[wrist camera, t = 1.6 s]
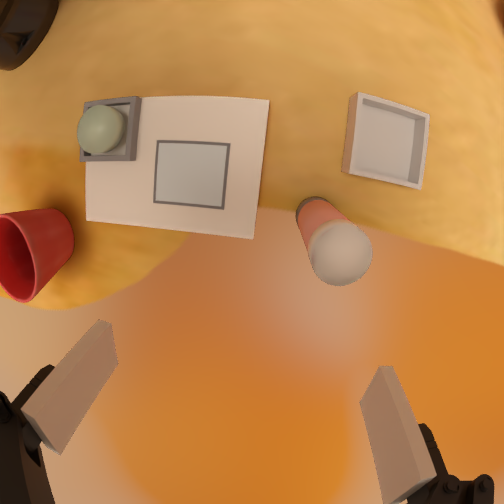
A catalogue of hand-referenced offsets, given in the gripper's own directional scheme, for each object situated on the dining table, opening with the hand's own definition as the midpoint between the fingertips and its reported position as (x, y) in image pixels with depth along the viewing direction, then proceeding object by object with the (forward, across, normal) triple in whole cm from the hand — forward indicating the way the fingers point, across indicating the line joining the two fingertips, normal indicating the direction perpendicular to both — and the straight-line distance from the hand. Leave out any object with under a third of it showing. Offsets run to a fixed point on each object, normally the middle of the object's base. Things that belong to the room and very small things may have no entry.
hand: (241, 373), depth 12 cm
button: (+16, -18, +11) cm, 26 cm away
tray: (+19, +11, +14) cm, 25 cm away
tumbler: (+19, +5, +4) cm, 20 cm away
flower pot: (+19, -28, -3) cm, 34 cm away
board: (+19, -11, +8) cm, 23 cm away
